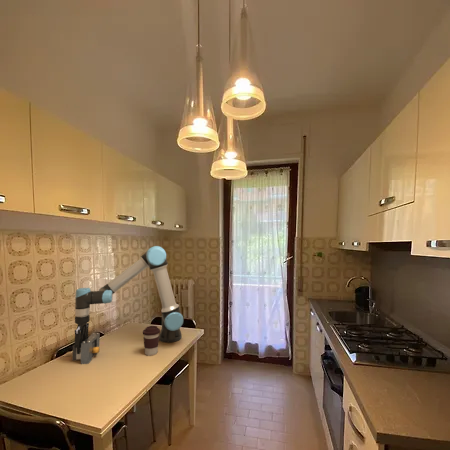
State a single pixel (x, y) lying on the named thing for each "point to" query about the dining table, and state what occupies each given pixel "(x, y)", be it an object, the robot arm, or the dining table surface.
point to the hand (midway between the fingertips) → (81, 356)
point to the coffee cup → (151, 340)
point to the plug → (94, 350)
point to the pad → (68, 354)
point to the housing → (89, 348)
